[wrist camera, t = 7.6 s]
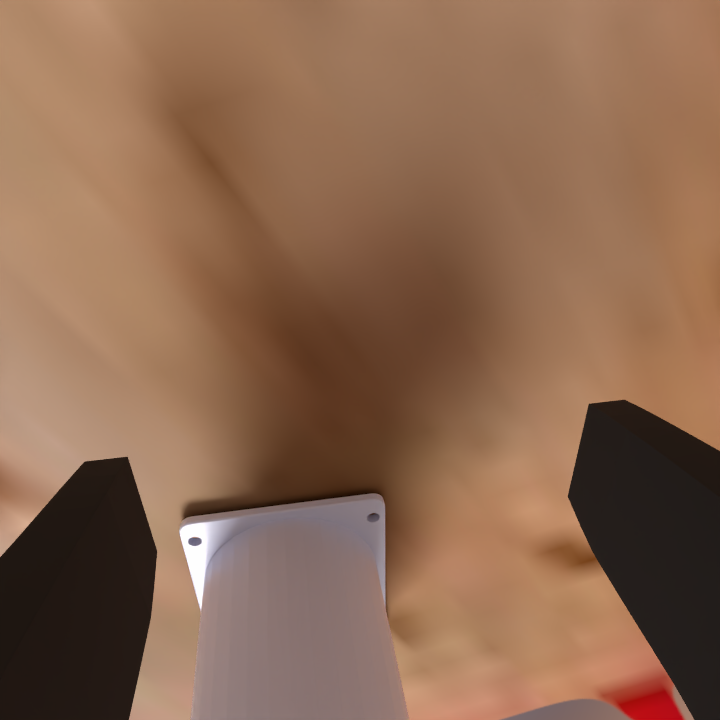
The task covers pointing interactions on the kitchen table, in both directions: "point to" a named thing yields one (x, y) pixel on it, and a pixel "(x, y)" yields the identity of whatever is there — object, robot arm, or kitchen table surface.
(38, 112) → the kitchen table surface
